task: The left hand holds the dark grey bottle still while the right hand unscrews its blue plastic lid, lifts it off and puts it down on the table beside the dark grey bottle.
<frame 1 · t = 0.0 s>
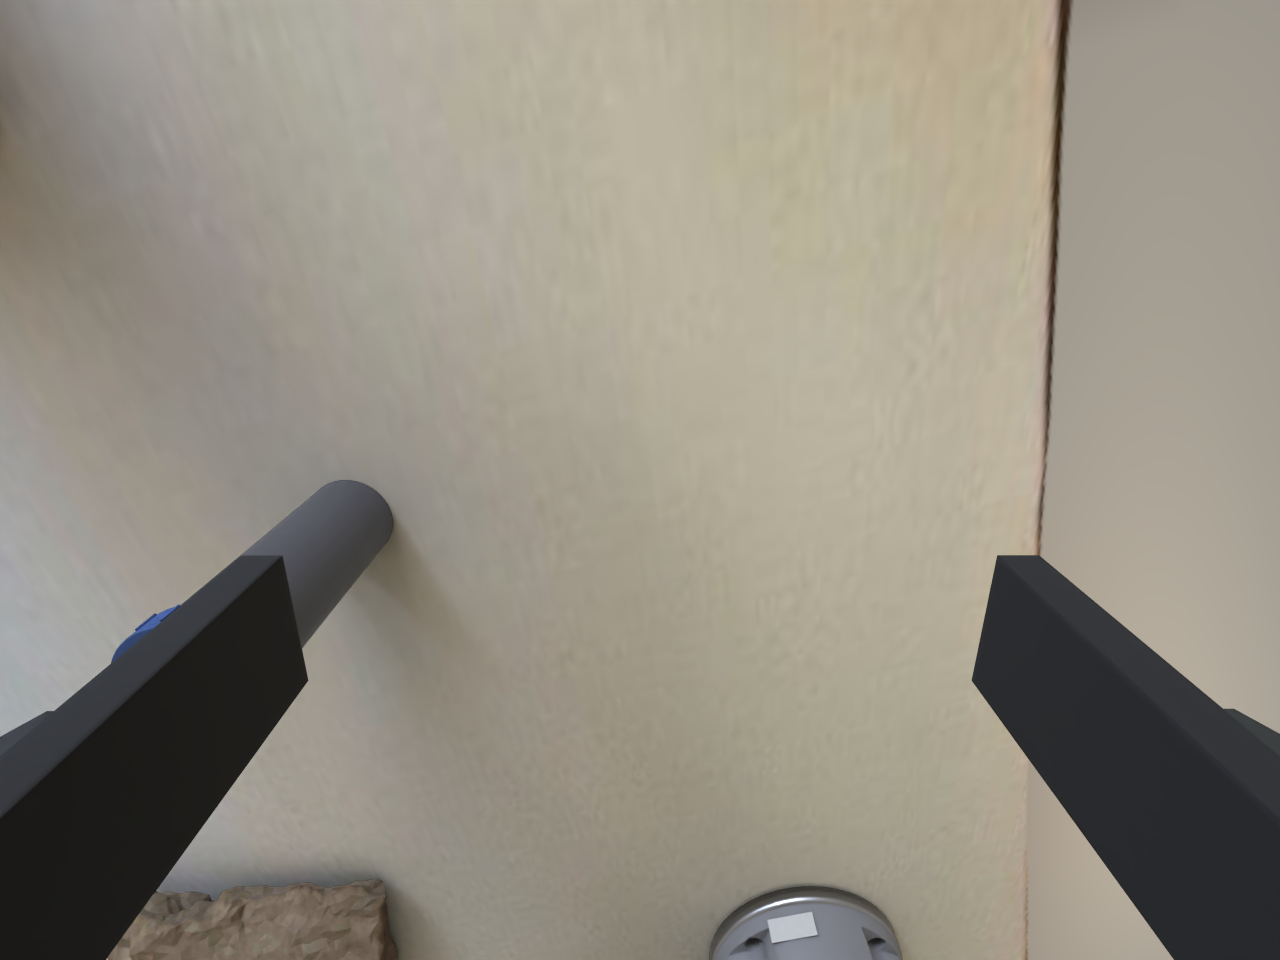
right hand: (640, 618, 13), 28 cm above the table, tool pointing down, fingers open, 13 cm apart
dark grey bottle: (351, 518, 43), on the table
lid: (190, 683, 27), point 16 cm above the table, screwed on, not yet turned
stone: (272, 925, 55), on the table
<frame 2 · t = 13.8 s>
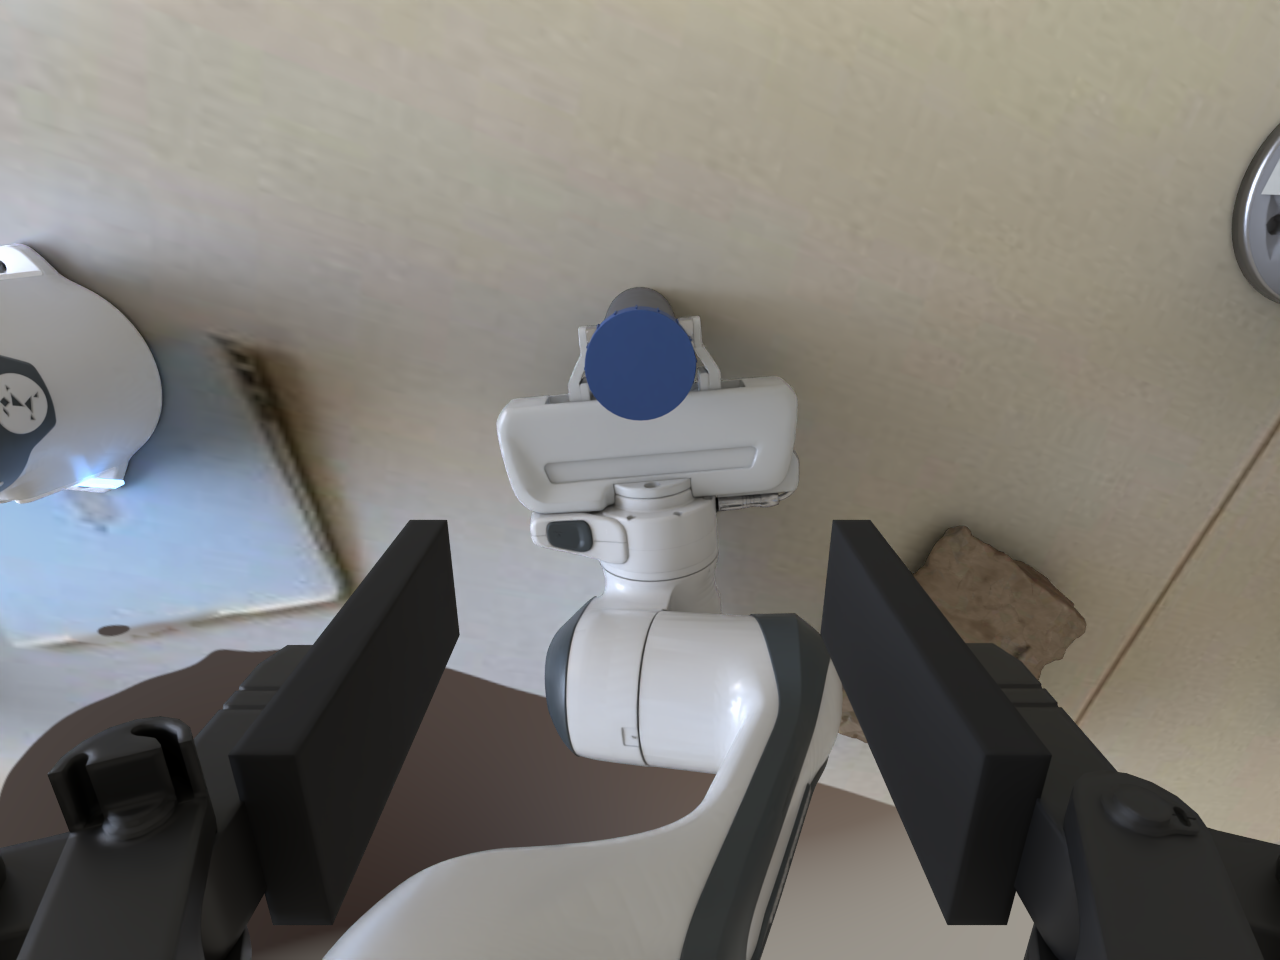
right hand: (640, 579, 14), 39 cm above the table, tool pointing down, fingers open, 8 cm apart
left hand: (638, 321, 45), fingers closed on dark grey bottle, 5 cm apart
dark grey bottle: (640, 322, 51), on the table, touching left hand
lid: (640, 365, 36), point 16 cm above the table, screwed on, not yet turned
stone: (931, 638, 61), on the table
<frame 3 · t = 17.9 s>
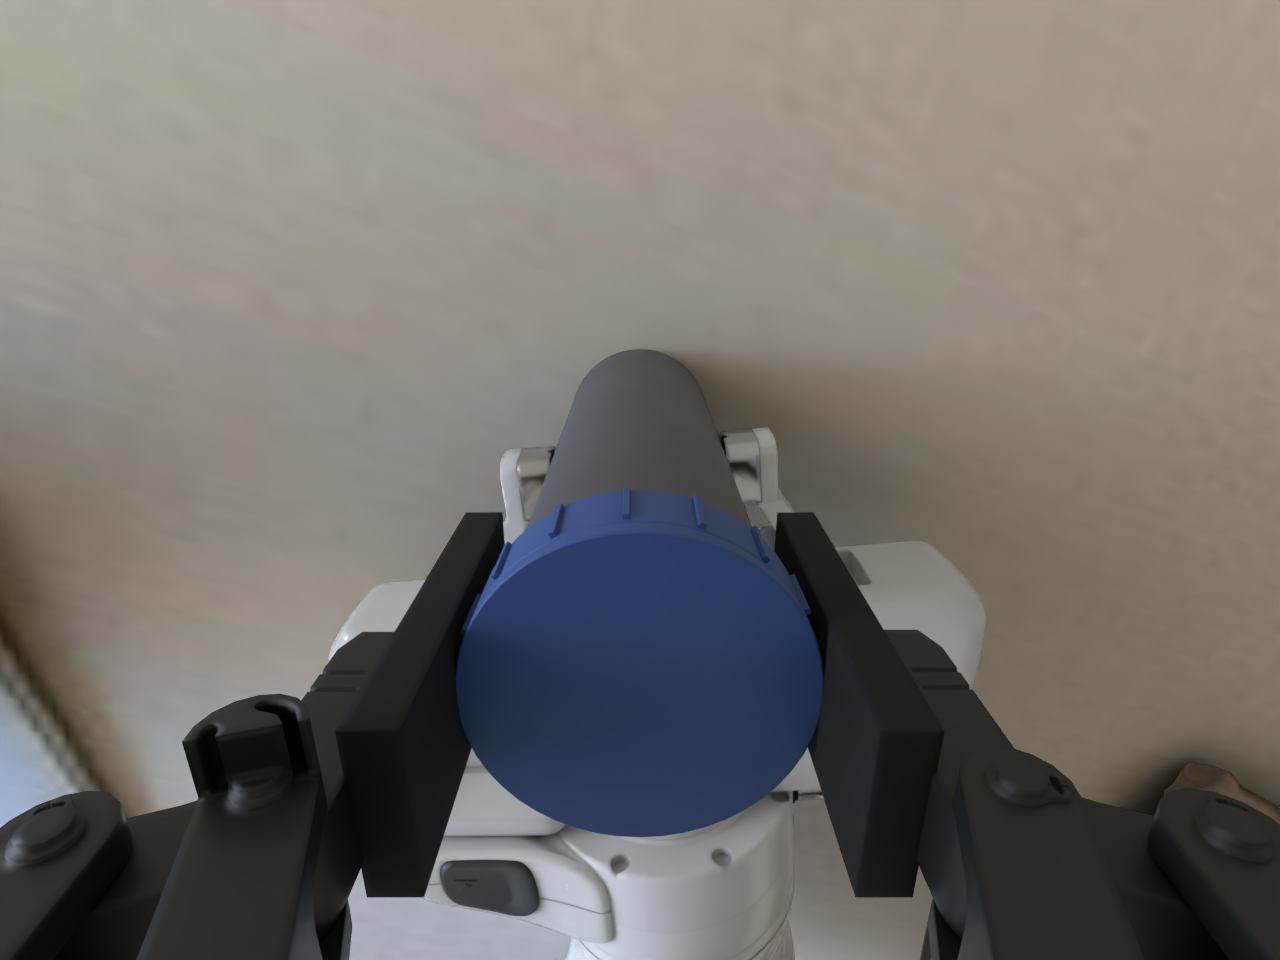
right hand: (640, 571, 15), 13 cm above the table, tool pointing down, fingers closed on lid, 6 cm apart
dark grey bottle: (639, 415, 26), on the table, touching left hand
lid: (639, 685, 11), point 16 cm above the table, screwed on, not yet turned, touching right hand
stone: (1130, 923, 36), on the table
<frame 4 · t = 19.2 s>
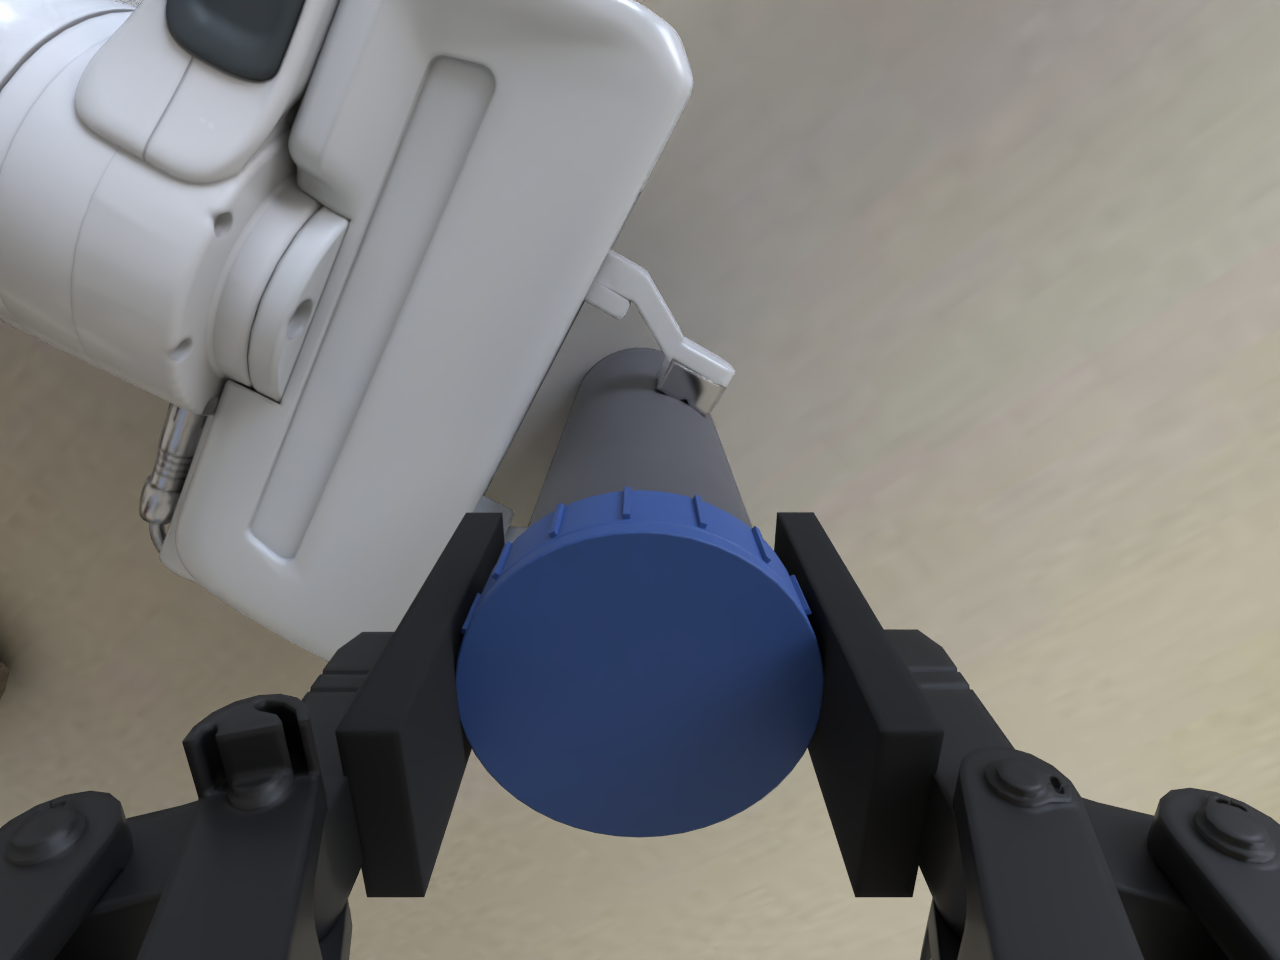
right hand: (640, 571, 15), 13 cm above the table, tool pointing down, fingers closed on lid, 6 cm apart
left hand: (666, 479, 21), fingers closed on dark grey bottle, 5 cm apart
dark grey bottle: (639, 413, 27), on the table, touching left hand
lid: (639, 685, 11), point 17 cm above the table, off its thread, touching right hand
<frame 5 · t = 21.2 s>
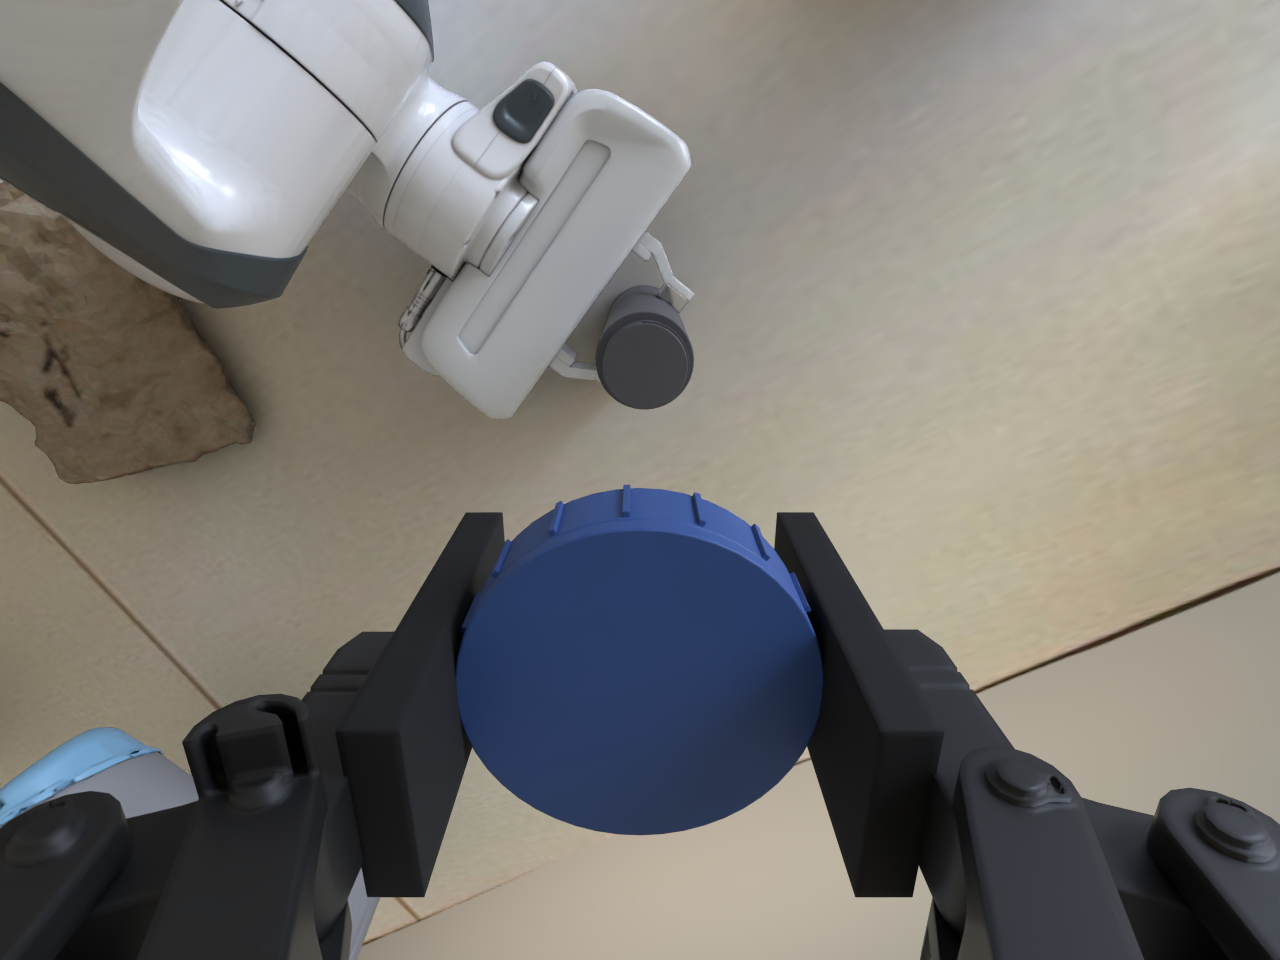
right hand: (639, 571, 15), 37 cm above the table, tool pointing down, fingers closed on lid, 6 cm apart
left hand: (655, 343, 44), fingers closed on dark grey bottle, 5 cm apart
dark grey bottle: (643, 322, 49), on the table, touching left hand
lid: (639, 683, 11), point 41 cm above the table, off its thread, touching right hand
stone: (123, 329, 50), on the table
when the right hand's fingers open (0 cm above the table, at t = 27.3 s): lid drops 2 cm, point 1 cm above the table.
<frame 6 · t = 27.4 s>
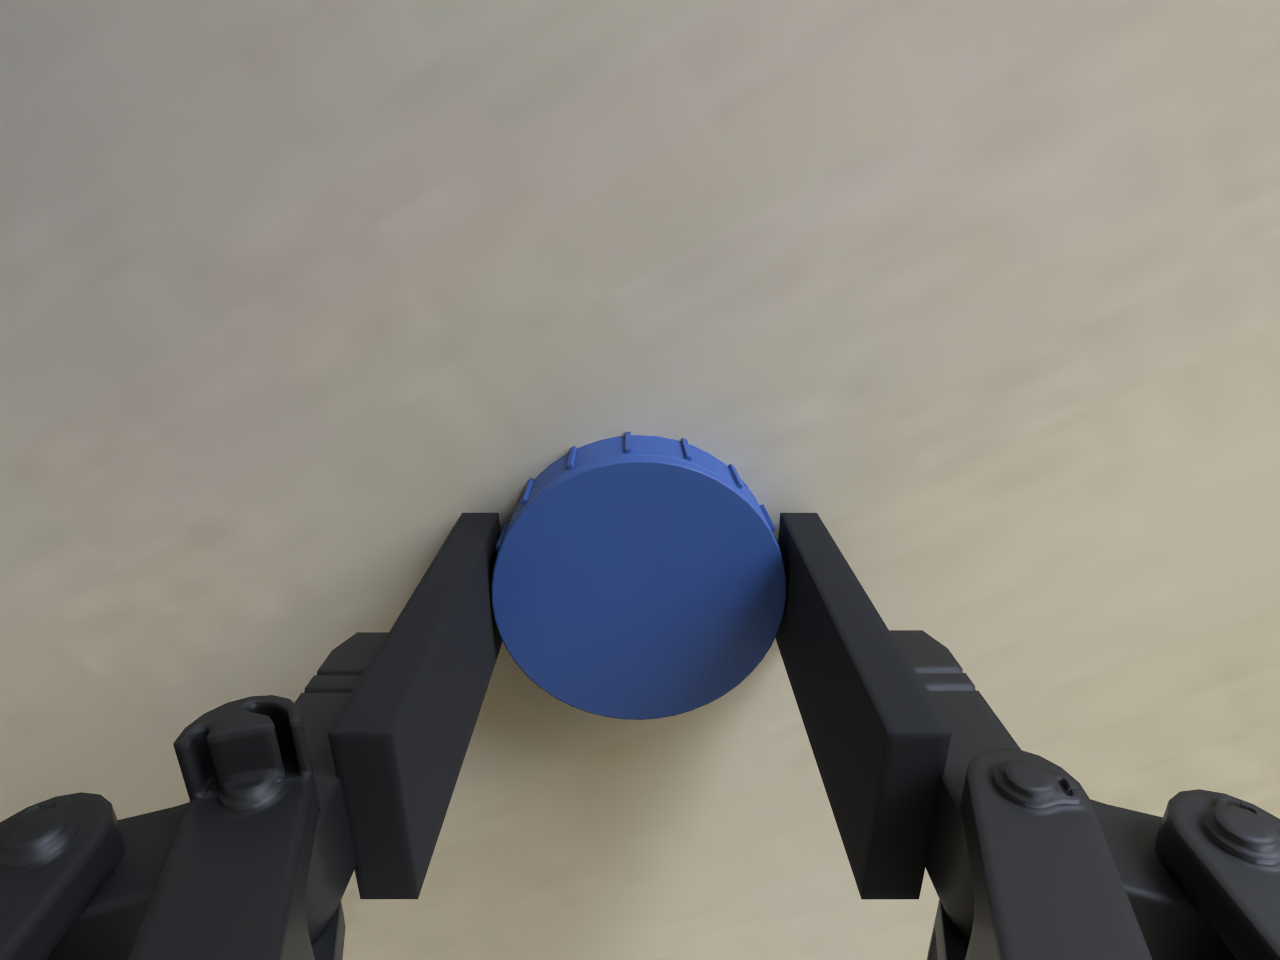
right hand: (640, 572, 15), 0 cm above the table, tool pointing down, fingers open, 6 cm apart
lid: (639, 591, 14), point 1 cm above the table, off its thread
when the left hand's fingers open (6 cm above the table, at t = 28.6 s): dark grey bottle stays where it is, on the table.
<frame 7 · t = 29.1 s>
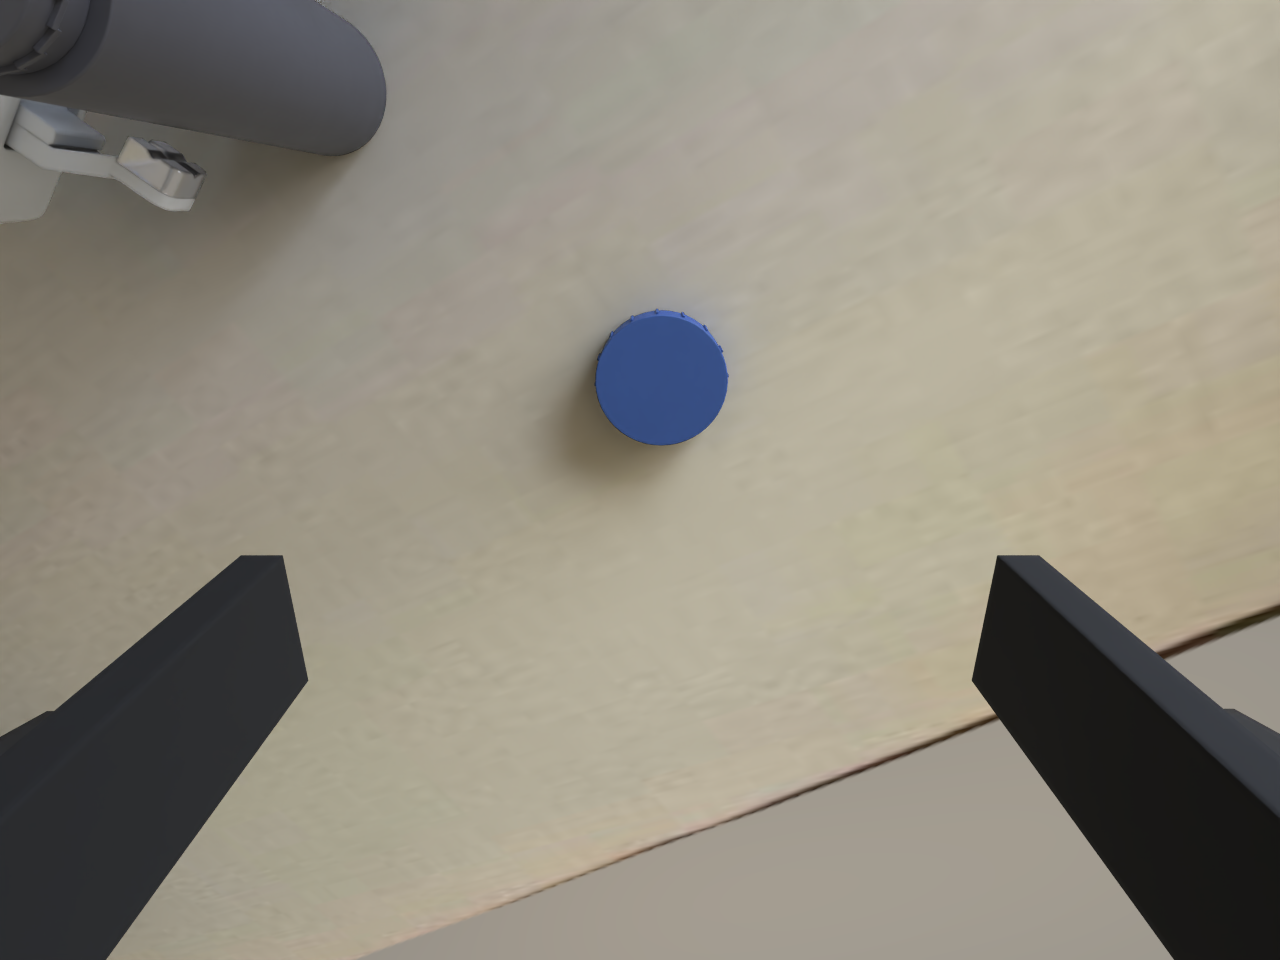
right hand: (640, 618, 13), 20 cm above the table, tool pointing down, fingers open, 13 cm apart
dark grey bottle: (322, 85, 27), on the table
lid: (661, 380, 30), point 1 cm above the table, off its thread
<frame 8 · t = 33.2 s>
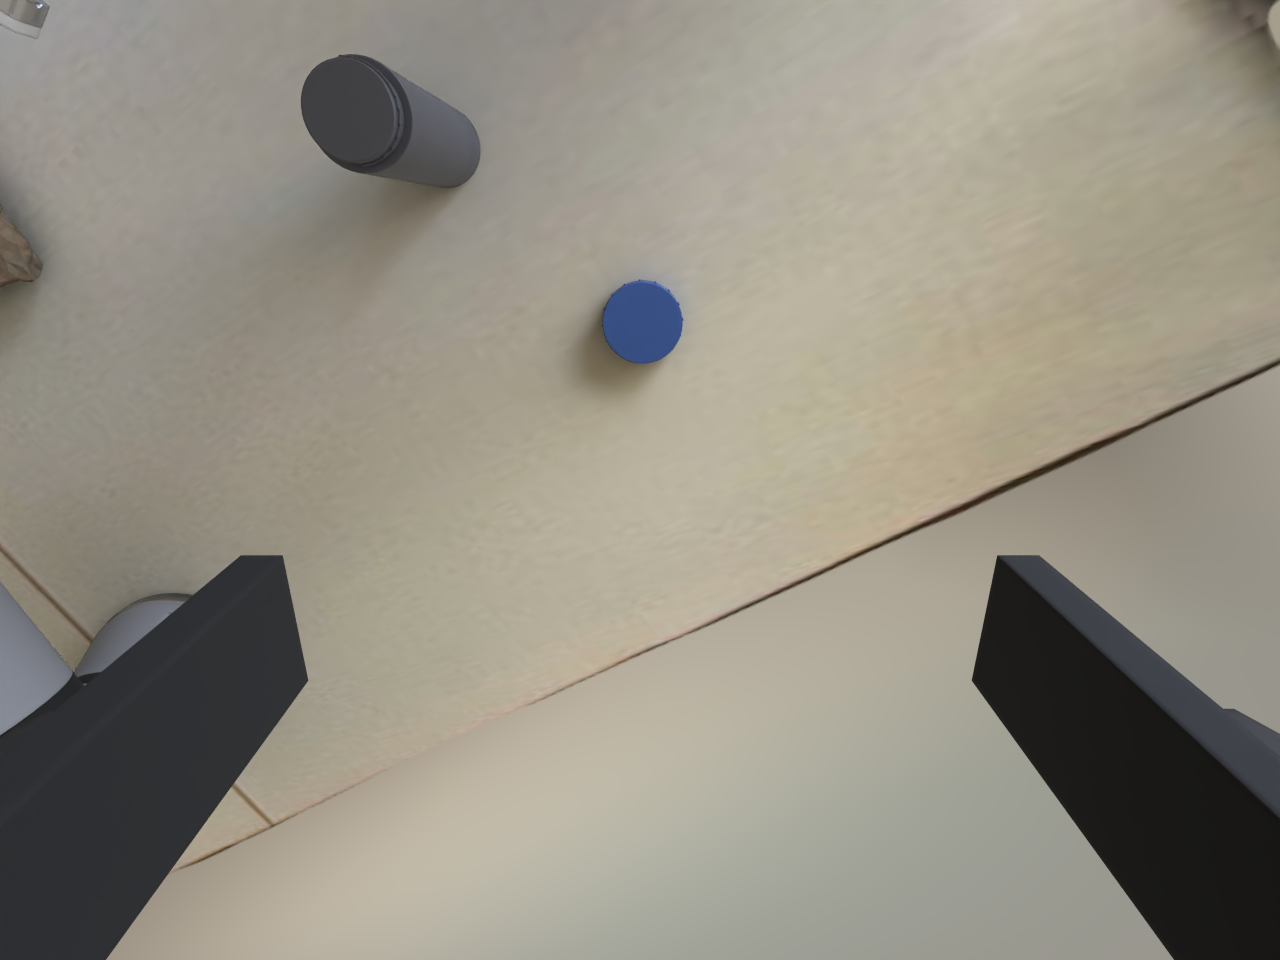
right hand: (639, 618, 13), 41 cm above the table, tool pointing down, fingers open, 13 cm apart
dark grey bottle: (443, 147, 47), on the table
lid: (642, 323, 50), point 1 cm above the table, off its thread
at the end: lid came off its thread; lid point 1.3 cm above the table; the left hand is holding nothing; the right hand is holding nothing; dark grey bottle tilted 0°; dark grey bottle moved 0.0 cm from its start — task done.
